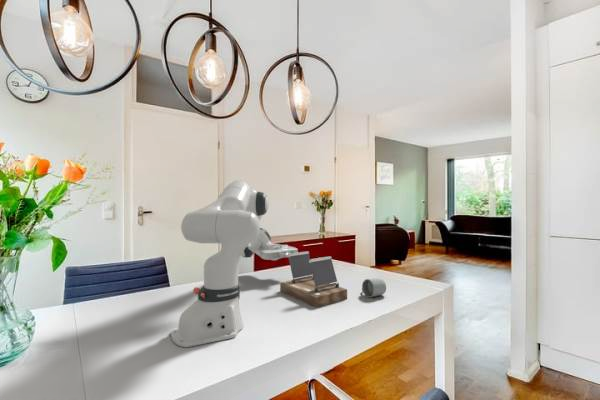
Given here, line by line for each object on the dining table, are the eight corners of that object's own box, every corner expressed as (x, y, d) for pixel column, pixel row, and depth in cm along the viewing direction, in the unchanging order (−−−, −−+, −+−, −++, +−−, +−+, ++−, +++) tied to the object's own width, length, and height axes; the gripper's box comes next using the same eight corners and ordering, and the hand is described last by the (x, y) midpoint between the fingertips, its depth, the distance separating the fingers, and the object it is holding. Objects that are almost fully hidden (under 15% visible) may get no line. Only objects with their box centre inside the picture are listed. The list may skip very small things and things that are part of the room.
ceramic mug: (387, 296, 131) (387, 278, 131) (373, 299, 127) (373, 281, 127) (370, 290, 140) (370, 273, 140) (357, 293, 136) (356, 276, 136)
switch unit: (316, 307, 118) (316, 292, 118) (280, 291, 139) (280, 278, 139) (347, 298, 128) (347, 284, 128) (309, 284, 149) (309, 272, 149)
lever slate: (318, 285, 124) (311, 259, 127) (315, 286, 126) (308, 260, 129) (337, 281, 131) (330, 256, 134) (334, 282, 132) (327, 257, 136)
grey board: (295, 277, 137) (290, 253, 140) (292, 278, 138) (287, 254, 142) (314, 274, 143) (308, 251, 147) (311, 274, 145) (305, 252, 148)
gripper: (256, 247, 156) (270, 251, 145) (288, 244, 168) (303, 247, 157) (256, 260, 156) (270, 264, 145) (288, 255, 168) (303, 259, 157)
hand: (288, 255), depth 151 cm, fingers closed
